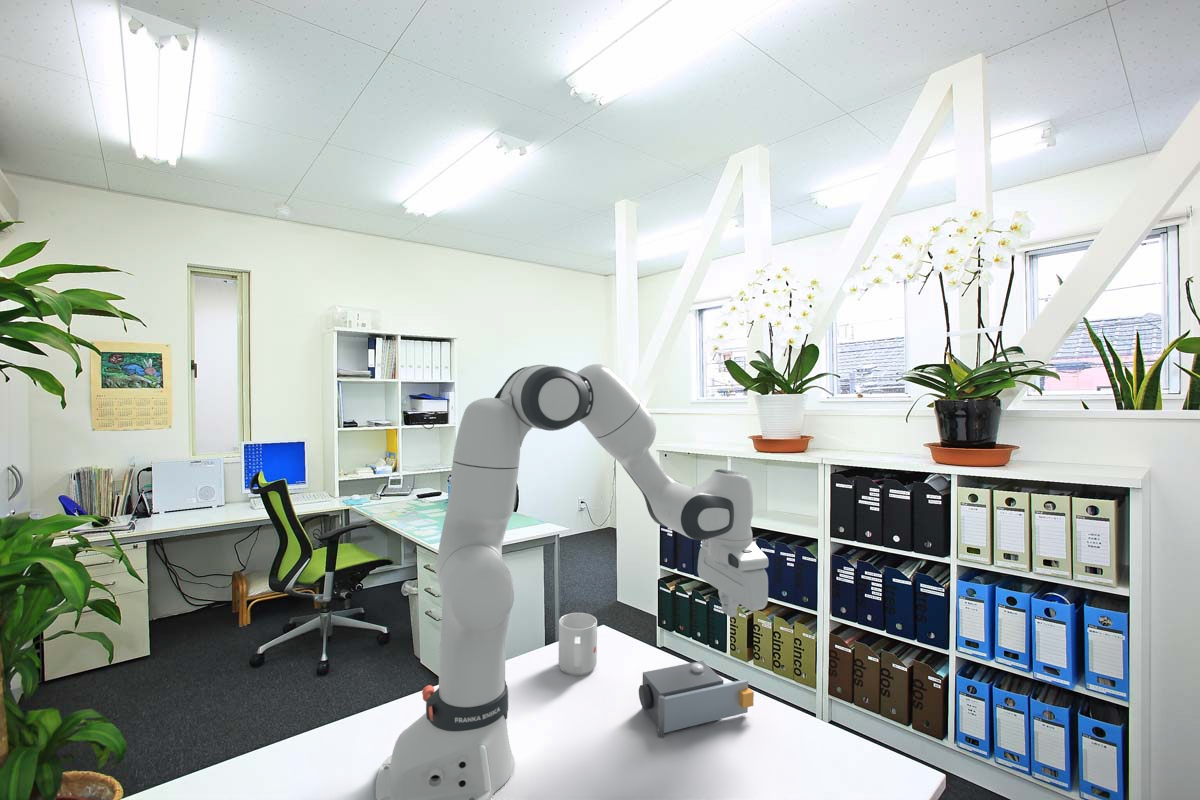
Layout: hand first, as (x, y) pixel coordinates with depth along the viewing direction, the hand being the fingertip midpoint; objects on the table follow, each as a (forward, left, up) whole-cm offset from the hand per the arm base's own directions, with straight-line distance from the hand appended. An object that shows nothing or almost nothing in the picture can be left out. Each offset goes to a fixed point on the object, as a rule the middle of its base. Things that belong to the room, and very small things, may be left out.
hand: (729, 614), depth 113 cm
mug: (-25, +22, -19) cm, 39 cm away
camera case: (-10, 0, -19) cm, 22 cm away
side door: (-8, -5, -19) cm, 21 cm away
